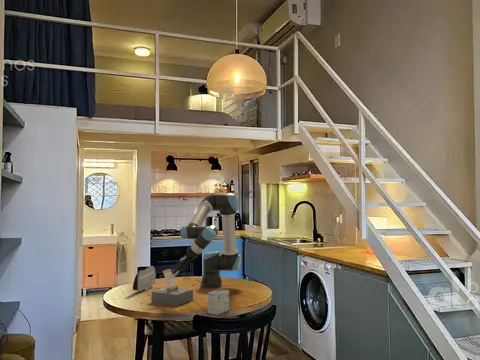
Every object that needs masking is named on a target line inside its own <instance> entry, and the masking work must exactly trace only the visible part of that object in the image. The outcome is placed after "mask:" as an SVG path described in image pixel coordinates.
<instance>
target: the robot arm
mask: <svg viewBox="0 0 480 360" xmlns="http://www.w3.org/2000/svg"><path fill="white" fill-rule="evenodd" d="M239 209H240V203H239V199H238V196H237V195H236V194H235V193H212V194H209V195H207V196H206V197H204V198H203V199H201V201H200V203H199V204H198V208H197V210H196V212H195V213H194V215H193V217H192V218H191V220H190V221H189V222H188V225H184V226H181V228H180V231H179V235H180V237H181V239H183V240H193V241H192V243H191V244H190V245H189V246H188V247H187V249H186V250H185V252H186V253H185V254H184V255H183V257H179V259H178V260H177V262H176V264H175V265H174V266H173V270H171V274H170V275H169V276H170V278H171V279H175V277H176V276H177V275H178V274H179V272H183V271H182V270H185V268H186V267H188V265H190V264H191V262H192V261H194V260H195V259H197V258H198V257H199V256H200V254H202V253H203V252H204V250H205V249H206V247H208V246H209V245H210V244H211V242H212V241H213V240H214V239H216V238H217V237H218V236H219V234H220V230H219V228H218V226H216V225H213V224H211V225H208V226H203V224H204V223H205V221H206V219H207V217H208V215H209V214H211V213H212V212H215V211H216V212H219V215H220V216H221V224H222V240H223V241H222V243H223V245H222V246H223V250H222V251H221V252H220V251H217V250H216V251H208V252H205V253H203V257H202V263H203V264H202V267H203V269H202V270H203V271H202V272H203V273H202V276H201V280H200V287H202V288H220V287H222V286H223V281H222V276H221V272H238V271H239V270H240V268H241V264H242V254H241V253H239V250H238V248H237V239H236V224H235V223H236V221H235V215H236V214H237V211H239Z"/></svg>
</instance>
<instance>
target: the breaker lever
mask: <svg viewBox="0 0 480 360" xmlns="http://www.w3.org/2000/svg"><path fill="white" fill-rule="evenodd" d="M171 272H172V269H171V268H168V269H165V270H162V273H163V275H164V278H165V281H166V284H167V287H168V288H171V290H174V289H176V287H175V286H177V285H176V282H175V280H174V279H175V278H173V279H171V278H170V276H169V275H170V274H171Z"/></svg>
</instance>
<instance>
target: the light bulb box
mask: <svg viewBox="0 0 480 360" xmlns="http://www.w3.org/2000/svg"><path fill="white" fill-rule="evenodd" d="M229 311H230V290H228V289H224V288H223V289H222V288H219V289H215V290H212V291H208V292H207V313H208V314H211V315H217V316H218V315H220V314H223V313H226V312H229Z"/></svg>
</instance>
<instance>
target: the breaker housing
mask: <svg viewBox="0 0 480 360" xmlns="http://www.w3.org/2000/svg"><path fill="white" fill-rule="evenodd" d="M175 287H176V289H174V290H171V288H168V286H166V287H163V288H160V289H156V290H154V291H153V290H152V291H151V301H150V302H151V303H153V304H159V305H160V304H162V305H169V306H175V307H179V306H180V305H183V304H186V303H188V302H191V301H193V300H194V289H191V288H183V287H179V286H178V285H176V286H175Z"/></svg>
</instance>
